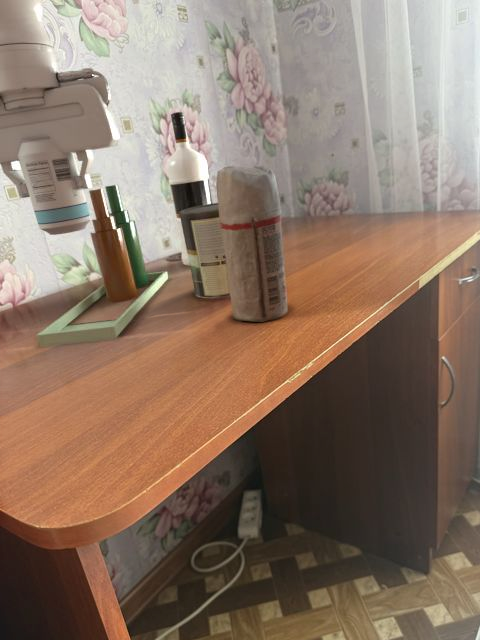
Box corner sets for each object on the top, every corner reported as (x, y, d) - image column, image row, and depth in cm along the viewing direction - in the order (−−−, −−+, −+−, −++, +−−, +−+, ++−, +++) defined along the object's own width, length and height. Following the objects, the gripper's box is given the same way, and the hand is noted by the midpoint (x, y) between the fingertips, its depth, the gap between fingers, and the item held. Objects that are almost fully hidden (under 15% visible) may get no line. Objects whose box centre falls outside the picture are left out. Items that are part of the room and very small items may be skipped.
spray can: (262, 302, 76) (242, 163, 68) (302, 308, 70) (286, 158, 63) (220, 319, 71) (194, 171, 63) (260, 328, 65) (237, 167, 58)
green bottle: (118, 292, 93) (91, 188, 86) (126, 284, 97) (102, 186, 90) (145, 288, 92) (120, 184, 85) (152, 281, 97) (130, 182, 90)
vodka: (196, 270, 103) (166, 111, 92) (175, 265, 110) (145, 117, 99) (233, 259, 108) (209, 107, 96) (211, 256, 115) (186, 113, 103)
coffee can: (182, 299, 83) (164, 214, 78) (221, 282, 91) (207, 202, 86) (229, 303, 77) (214, 211, 72) (267, 284, 85) (255, 199, 80)
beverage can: (92, 224, 74) (69, 136, 69) (93, 229, 67) (68, 133, 63) (43, 232, 72) (16, 143, 67) (39, 238, 66) (10, 140, 61)
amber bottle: (103, 304, 86) (74, 193, 79) (114, 295, 90) (86, 190, 83) (133, 301, 85) (105, 188, 78) (141, 292, 90) (116, 185, 83)
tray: (40, 348, 70) (36, 335, 69) (114, 287, 99) (111, 277, 98) (117, 339, 69) (113, 326, 68) (169, 280, 98) (166, 271, 97)
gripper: (112, 68, 64) (136, 180, 69) (-36, 93, 66) (-1, 200, 72) (94, 61, 58) (122, 184, 64) (-67, 89, 61) (-27, 205, 66)
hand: (56, 193), depth 68 cm, fingers closed on beverage can, 7 cm apart
